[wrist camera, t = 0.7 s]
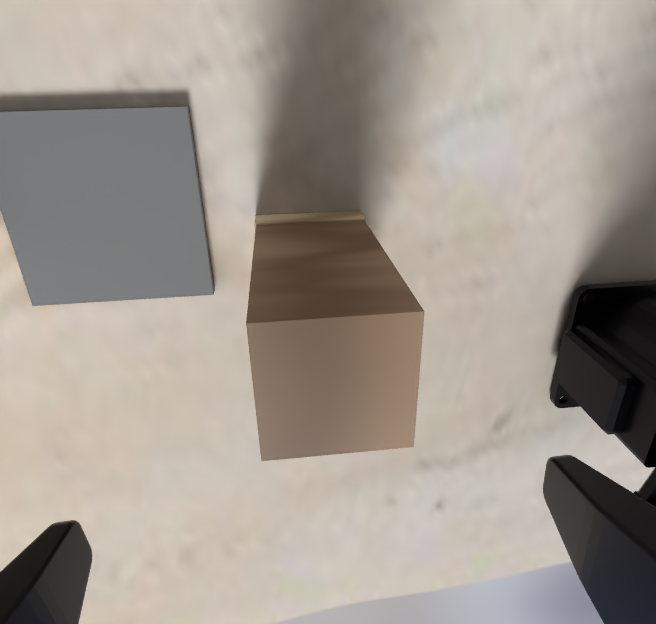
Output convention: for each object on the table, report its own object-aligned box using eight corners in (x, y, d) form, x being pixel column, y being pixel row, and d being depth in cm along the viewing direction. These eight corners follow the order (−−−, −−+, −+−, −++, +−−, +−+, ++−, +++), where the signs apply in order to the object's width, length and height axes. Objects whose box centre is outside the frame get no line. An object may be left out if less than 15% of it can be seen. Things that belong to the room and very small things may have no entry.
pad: (188, 106, 16) (186, 106, 16) (214, 290, 20) (213, 294, 19) (-25, 112, 16) (-32, 112, 15) (37, 301, 19) (32, 305, 19)
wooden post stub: (359, 210, 19) (426, 309, 11) (359, 303, 21) (415, 448, 13) (255, 215, 18) (243, 321, 10) (264, 309, 20) (259, 462, 12)
